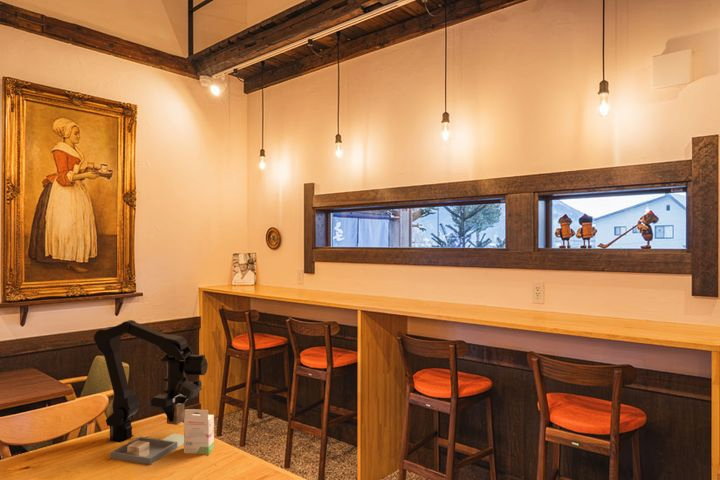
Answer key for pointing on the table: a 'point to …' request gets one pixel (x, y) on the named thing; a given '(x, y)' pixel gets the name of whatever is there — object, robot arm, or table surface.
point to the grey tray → (156, 451)
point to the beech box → (138, 448)
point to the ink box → (198, 432)
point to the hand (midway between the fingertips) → (175, 419)
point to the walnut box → (177, 414)
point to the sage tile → (176, 439)
